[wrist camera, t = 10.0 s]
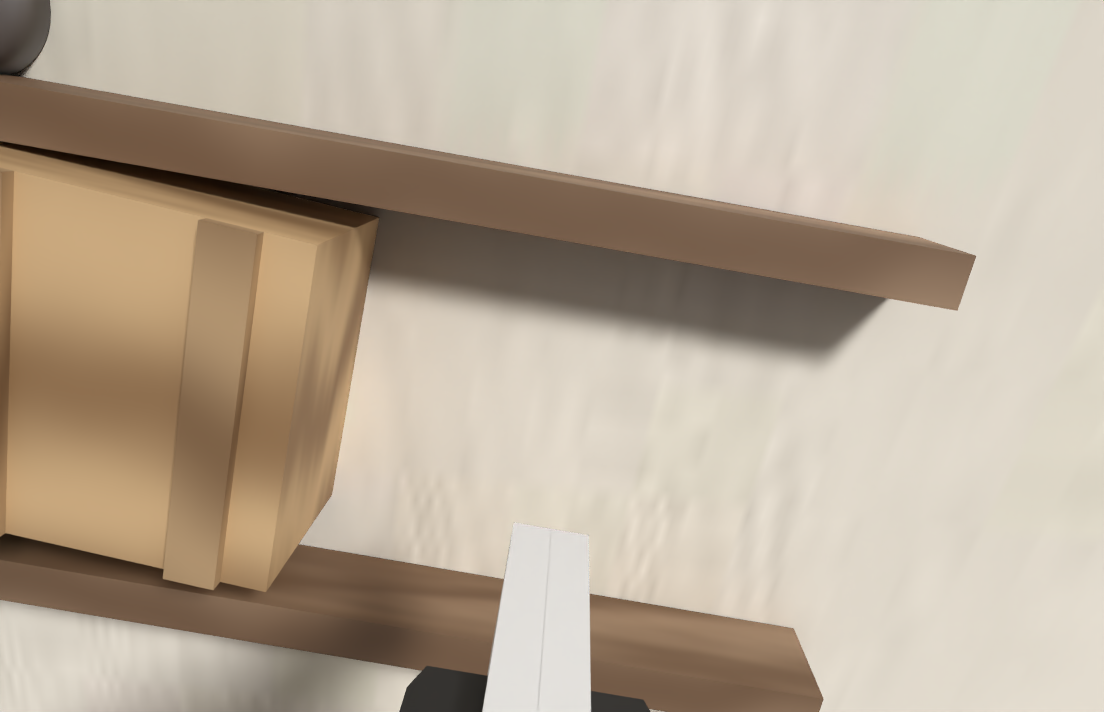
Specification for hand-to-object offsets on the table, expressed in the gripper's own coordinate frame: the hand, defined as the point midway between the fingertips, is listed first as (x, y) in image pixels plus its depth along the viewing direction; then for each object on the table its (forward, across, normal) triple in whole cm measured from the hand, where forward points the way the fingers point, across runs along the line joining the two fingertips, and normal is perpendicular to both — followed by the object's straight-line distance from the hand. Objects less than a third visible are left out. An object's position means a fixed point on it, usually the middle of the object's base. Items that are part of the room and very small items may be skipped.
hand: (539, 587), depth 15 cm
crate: (+11, -12, 0) cm, 16 cm away
